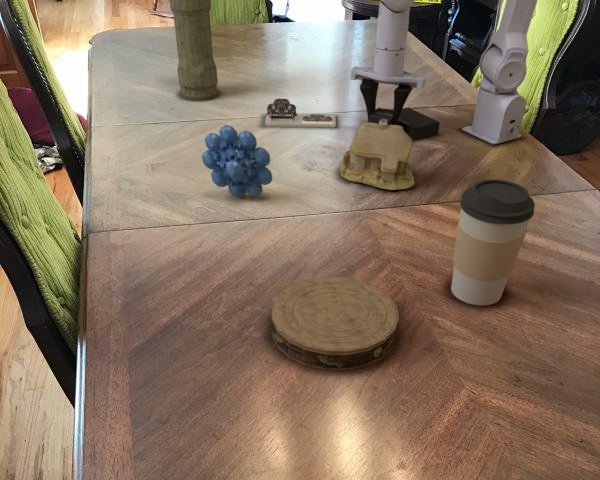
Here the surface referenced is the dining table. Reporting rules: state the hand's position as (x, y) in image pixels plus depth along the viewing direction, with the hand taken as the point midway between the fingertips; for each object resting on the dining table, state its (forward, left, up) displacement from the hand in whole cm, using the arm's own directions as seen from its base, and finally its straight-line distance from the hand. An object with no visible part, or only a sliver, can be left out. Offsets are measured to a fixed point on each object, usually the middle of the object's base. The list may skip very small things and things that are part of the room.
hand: (383, 122), depth 124 cm
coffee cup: (-52, +24, -3) cm, 57 cm away
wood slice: (-49, +46, -3) cm, 67 cm away
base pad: (0, -7, -3) cm, 8 cm away
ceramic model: (-15, +13, -3) cm, 20 cm away
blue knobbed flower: (-10, +39, -3) cm, 40 cm away
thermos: (+43, +21, -3) cm, 48 cm away
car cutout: (+16, +10, -3) cm, 19 cm away
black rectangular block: (0, 0, -1) cm, 1 cm away
